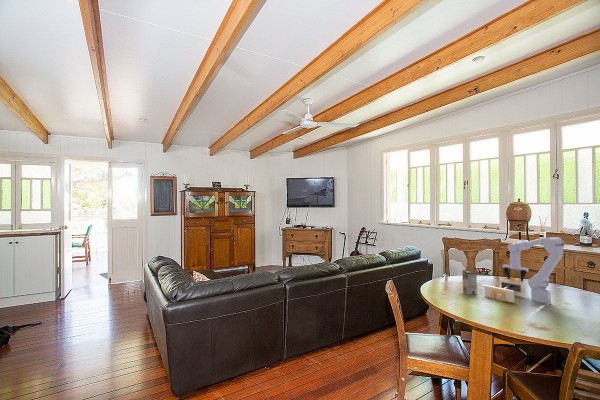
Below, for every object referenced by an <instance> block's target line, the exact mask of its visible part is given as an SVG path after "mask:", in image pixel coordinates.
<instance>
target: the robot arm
mask: <svg viewBox="0 0 600 400" xmlns="http://www.w3.org/2000/svg"><path fill="white" fill-rule="evenodd" d="M533 246H542V247H543V248H544V249H545V250H546V252H547V253H548V254H549V255H548V256H547V258H546V259H545V260H544V263H543V264H542V266H541V267H540V268H539V270H538V271H537V273H536V274H534V275H532V277H530V278H528V280H527V284H528V286H529V288H530V297H531V301H534V302H537V303H543V304H542V306H546V307H548V306H549V305H551V304H552V299H551V298H552V297H551V296H552V293H551V291H550V290H548V289H547V287H549V282H550V280H551V279H550V278H549V277H550V275H551V274H552V272H553V271H554V269H555V268H556V267H557V265H558V264H559V262H560V260H562V257H563V256H564V247H565V246H566V244H565V241H564V240H563V239H562V238H561V237H557V236H556V237H540V238H537V239H534V240H526V239H522V240H520V241H515V242H510V243H509V244H507V250H508V251H509V265H508V264H502V268H503V270H504V273H505V274H506V277H507V280H510V279H511V270H515V271H519V272H520V282H524V279H525V276H526V274H527V273H528V272H529V268H528V267H524V266H521V253H522V251H525V250H529V249H531V248H532V247H533Z"/></svg>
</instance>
